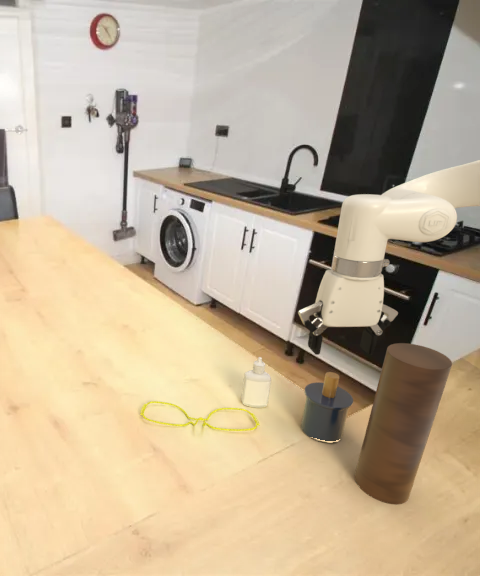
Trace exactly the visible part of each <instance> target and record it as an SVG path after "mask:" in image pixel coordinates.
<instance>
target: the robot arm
mask: <svg viewBox="0 0 480 576" xmlns="http://www.w3.org/2000/svg"><path fill="white" fill-rule="evenodd" d="M469 207H480V159H478V160H474V161H471V162H467V163H464V164H460V165H455V166H451V167H447V168H443V169H440V170H437V171H433V172H430V173H427V174H424V175H421V176H419V177H416V178H414V179H411V180H408V181H406V182H403V183H401V184H399V185H396V186H394V187H392V188H389V189H387V190H386V191H384V192H383V193H382V194H372V193H371V194H369V193H367V194H366V193H363V194H362V193H361V194H360V193H359V194H352V195H349V196H347V197H346V198H345V199H344V200H343V201H342V203H341V209H340V213H339V214H340V215H339V221H338V225H337V226H338V227H337V233H336V239H335V245H334V250H333V255H332V262H331V268H330V269H326V270H325V272H324V274H323V277H322V279H321V281H320V284H319V288H318V291H317V294H316V298H315V302H314V303H313V304H311V305H308V306H306V307H303V308H301V309H299V310H298V311H297V314H298V316H299V319H300V320H301V323H302V324H303V325H304V326H305V328H306V329H307V330H309V334H308V341H307V346H308V348H309V349H310V350H311V352H313V354H314V355H316V356H317V355H320V354H321V351H322V344H323V335H322V333H323V332H324V331H325V330H327V329H328V328H353V327H354V328H355V327H357V328H361V327H364V329H363V331H362V334H361V340H360V344H359V347H360V348H361V349H362V350H363V351H364V352H365V353H366V354H368V355H373V354H374V351H375V348H376V347H377V342H378V337H379V336H381V335H382V334H383V331H384V330H386V329H387V328H389V327H390V326H391V325H392V322H393V321H394V320H395V319H396V317H397V316H398V314H399V312H398V311H397V310H396V309H394V308H392V307H390V306H388V305H386V304H384V297H385V280H384V278H385V277H384V274H382V272H383V268H384V267H389V266H390V260H389V259H388V258H385V254H386V250H387V246H388V245H387V244H388V241H389V240H397V241H399V240H400V241H404V242H405V241H406V242H412V243H413V242H414V243H428V242H429V243H430V242H434V241H437V240H439V239H442V238H444V237H446V236H447V235H448V234H449V233H450V232H452V231H453V229H454V228H455V226H456V225H457V221H458V214H457V210H456V209H460V208H469ZM382 313H383V315H382ZM381 315H382V317H381ZM310 316H314V317H315V318H314V319H313V320H312V321H311V319H310Z"/></svg>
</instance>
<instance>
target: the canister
mask: <svg viewBox="0 0 480 576" xmlns="http://www.w3.org/2000/svg"><path fill="white" fill-rule="evenodd" d="M349 409H350V408H348V409H344V410H334V409H329V408H325V407H322V406H319V405H317V404H315V403H314V402H312V401H311V400H309V399H308V398H307V396H306V395H305V402H304V405H303V411H302V418H301V423H300V429H301V431H302V432H303V433H304V435H306V436H307V437H308V438H310V437H313V438H317V439H320V440H325V441H336V440H339V439H341V438H342V439H343V436H344V435H343V434H344V431H345V426H346V422H347V417H348V414H349ZM342 439H341V440H342Z"/></svg>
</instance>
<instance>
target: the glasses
mask: <svg viewBox="0 0 480 576" xmlns="http://www.w3.org/2000/svg"><path fill="white" fill-rule="evenodd" d="M150 404H161V405H168V406H173V407H175V408H178V409H179V410H180V411H181V412H183V413H184V415H185V416H186V418H187V419H190V420H193V421H188V422H186V423H183V424H182V423H181V424H179V423H170V422H169V423H168V422H163V421H157V420H153V419H150V418H148V417H147V416H145V411H146V408H147V407H148V405H150ZM223 410H225V411H226V410H231V411H232V410H233V411H234V410H235V411H243V412H246V413H248V414H249V415H250V416H251V418H252V419H253V420H254V423H255V426H254V427H251V428H224V427H223V428H222V427H216V426H213V425H210V424H209V423H208V422H206V421H209V420H210V417H211V416H212V415H213V414H214V413H216V412H219V411H223ZM139 413H140V416H142V417H143V419H144V420H146V421H148V422H152V423H156V424H159V425H165V426H173V427H186V426H188V425H190V424H192V425H193V426H194V427H195V426H196V425H197V424H198V422H199V421H203V423H202V424H201V425H202V427H206V426H207V427H209V428H211V429H214V430H218V431H227V432H245V431H248V432H249V431H253V430H255V429H257V428H258V426H260V422H259V420H258V417H257V416H256V415H255V414H254V413H253V412H250V411H249V410H248V409H245V408H240V407H220V408H216V409H214V410H212V411H211V412H210V413H209V414H208V416H207V417H206V418H203V417H201V416H200V417H198V418H196V417H191V416H189V414H188V413H187V412H186V411H185V409H183V408H182V407H181V406H179V405H176V404H174V403H171V402H165V401H155V400H153V401H152V400H151V401H148V402H147V403H144V404H143V405H142V407H141V410H140V412H139ZM194 421H195V422H194Z"/></svg>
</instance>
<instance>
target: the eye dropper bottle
mask: <svg viewBox="0 0 480 576" xmlns="http://www.w3.org/2000/svg"><path fill="white" fill-rule="evenodd" d="M265 370H266V363H265V362H264V361H263V358H262V356H258V358H257V360H254V361H253V364H252V369H251V370H248V371H245V372H244V374H243V381H242V388H241V389H242V390H241V396H240V397H241V399H240V400H241V403H242V405H244V406H247V407H250V408H255V409H256V408H257V409H261V408H267V407H268V404H269V399H270V392H271V385H272V377H271V375H270V374H269V372H267V371H265Z"/></svg>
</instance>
